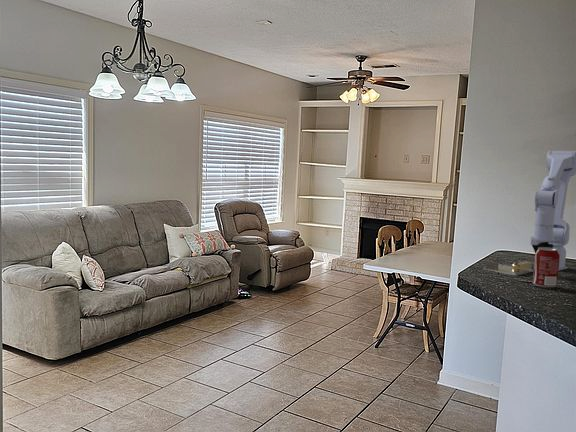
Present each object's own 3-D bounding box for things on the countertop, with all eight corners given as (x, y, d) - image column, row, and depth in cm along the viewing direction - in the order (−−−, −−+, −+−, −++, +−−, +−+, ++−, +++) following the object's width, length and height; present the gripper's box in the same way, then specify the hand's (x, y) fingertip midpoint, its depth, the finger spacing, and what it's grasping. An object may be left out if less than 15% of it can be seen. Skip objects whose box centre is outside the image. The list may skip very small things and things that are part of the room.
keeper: (491, 267, 185) (491, 260, 184) (510, 270, 179) (510, 263, 179) (485, 268, 182) (486, 261, 182) (504, 271, 177) (505, 264, 177)
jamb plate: (500, 265, 191) (500, 263, 191) (532, 271, 182) (533, 269, 182) (482, 269, 183) (483, 267, 183) (516, 275, 174) (516, 273, 174)
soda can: (559, 290, 155) (563, 250, 153) (536, 288, 156) (539, 249, 155) (553, 285, 161) (556, 247, 160) (530, 283, 162) (533, 246, 161)
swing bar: (517, 272, 175) (517, 263, 174) (510, 271, 177) (510, 262, 176) (531, 268, 182) (532, 260, 182) (524, 267, 184) (525, 259, 184)
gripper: (541, 223, 183) (538, 260, 184) (523, 224, 174) (519, 264, 175) (562, 225, 178) (558, 263, 179) (544, 227, 168) (540, 267, 170)
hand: (540, 264), depth 177 cm, fingers closed
